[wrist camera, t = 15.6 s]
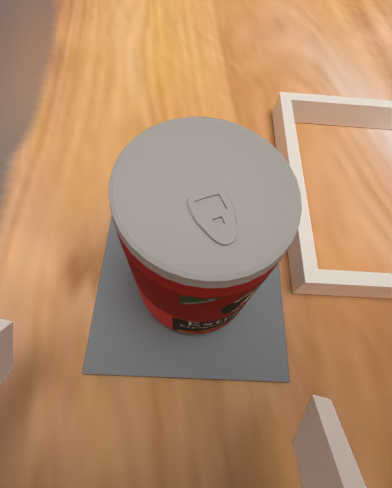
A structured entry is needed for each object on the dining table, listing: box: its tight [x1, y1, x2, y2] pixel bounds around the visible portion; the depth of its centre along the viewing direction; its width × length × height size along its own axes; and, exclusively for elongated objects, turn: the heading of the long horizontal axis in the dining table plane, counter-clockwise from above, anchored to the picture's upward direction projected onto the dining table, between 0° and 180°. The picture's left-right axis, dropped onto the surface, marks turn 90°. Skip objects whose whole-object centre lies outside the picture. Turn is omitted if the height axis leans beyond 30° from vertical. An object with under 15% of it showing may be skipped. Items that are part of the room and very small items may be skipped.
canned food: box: [109, 117, 302, 334], centre depth 17 cm, size 8×8×11 cm
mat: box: [82, 218, 290, 382], centre depth 22 cm, size 13×13×1 cm
